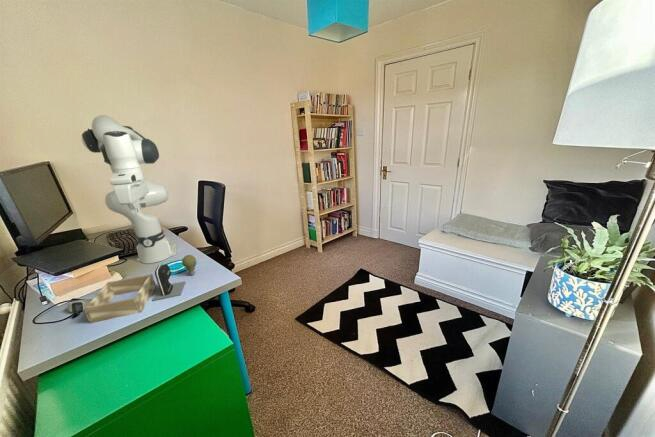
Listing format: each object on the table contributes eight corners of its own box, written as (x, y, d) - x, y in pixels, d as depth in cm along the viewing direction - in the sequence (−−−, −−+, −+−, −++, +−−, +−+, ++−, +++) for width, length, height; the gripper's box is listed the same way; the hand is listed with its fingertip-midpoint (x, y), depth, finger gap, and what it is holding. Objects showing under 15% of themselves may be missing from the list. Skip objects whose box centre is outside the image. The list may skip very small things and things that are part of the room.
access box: (112, 294, 106) (108, 282, 104) (156, 285, 111) (152, 274, 109) (89, 323, 90) (83, 309, 88) (141, 312, 95) (136, 298, 93)
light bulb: (201, 272, 120) (197, 253, 117) (193, 278, 115) (187, 259, 112) (192, 271, 122) (187, 252, 118) (183, 277, 117) (177, 258, 113)
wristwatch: (65, 316, 95) (59, 305, 93) (77, 305, 101) (72, 294, 99) (92, 311, 96) (87, 300, 95) (103, 301, 102) (98, 291, 101)
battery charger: (172, 294, 103) (164, 270, 99) (161, 296, 102) (153, 272, 98) (175, 285, 109) (168, 262, 106) (165, 287, 108) (158, 263, 104)
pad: (159, 287, 110) (159, 286, 109) (185, 282, 112) (185, 281, 112) (152, 301, 101) (152, 299, 100) (180, 295, 103) (180, 294, 103)
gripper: (130, 172, 106) (140, 204, 110) (106, 181, 87) (119, 218, 92) (147, 171, 107) (156, 202, 112) (128, 179, 89) (139, 216, 94)
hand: (139, 210), depth 102 cm, fingers open, 8 cm apart
